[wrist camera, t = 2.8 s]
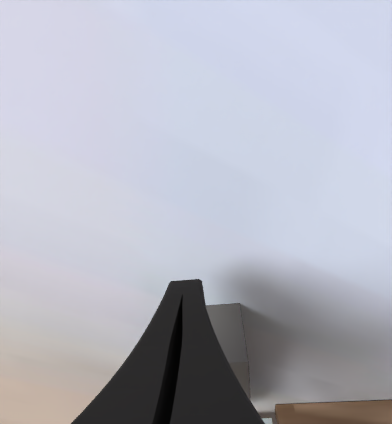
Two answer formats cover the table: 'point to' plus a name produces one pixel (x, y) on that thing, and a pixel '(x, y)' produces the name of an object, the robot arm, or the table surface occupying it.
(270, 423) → the flap
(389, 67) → the table surface
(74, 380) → the table surface
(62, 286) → the table surface
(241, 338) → the tall grey block
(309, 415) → the doorway frame
